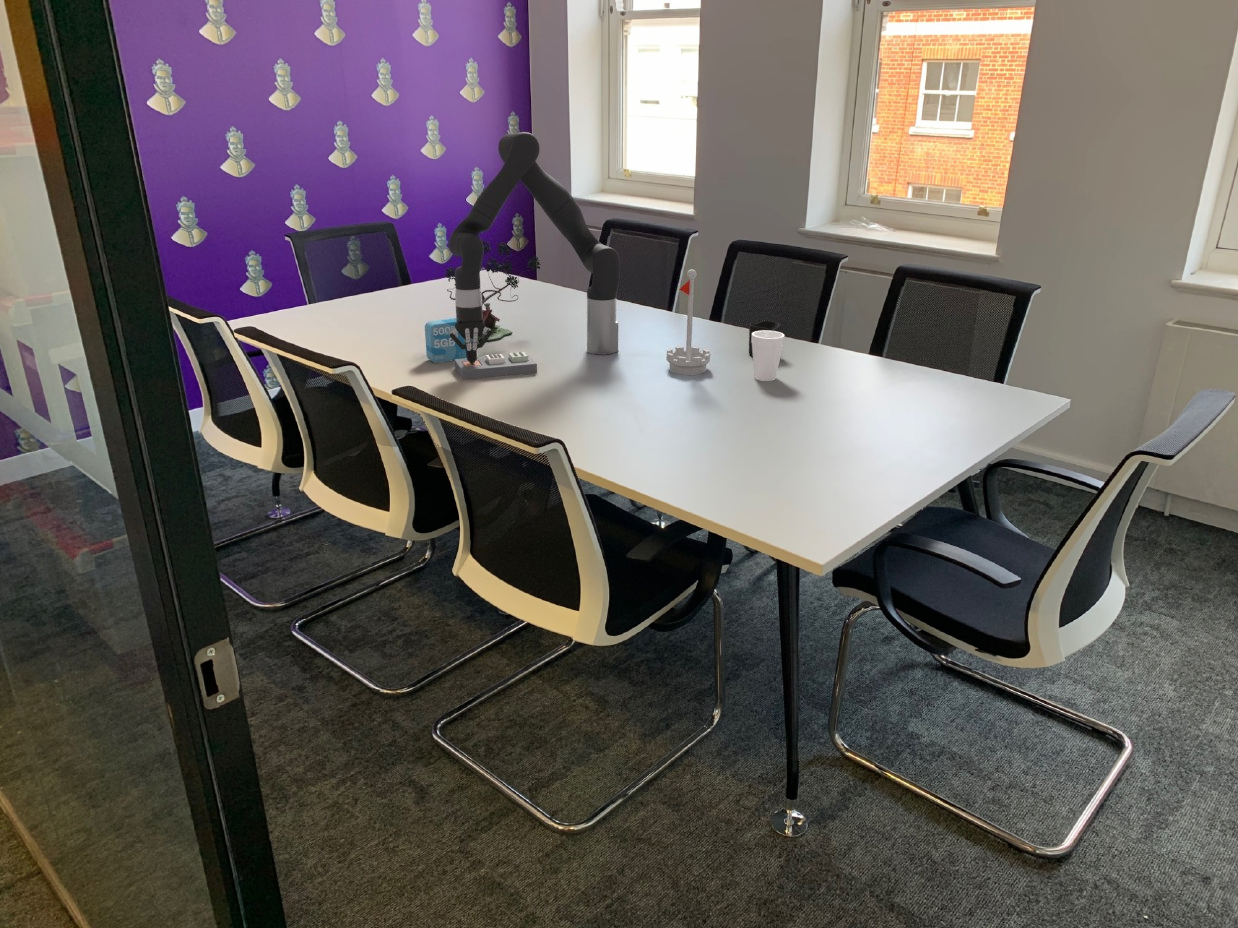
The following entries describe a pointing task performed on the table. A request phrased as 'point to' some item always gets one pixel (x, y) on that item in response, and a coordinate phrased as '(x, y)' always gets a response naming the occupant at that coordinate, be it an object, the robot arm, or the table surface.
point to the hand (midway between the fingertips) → (471, 362)
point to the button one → (471, 364)
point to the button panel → (494, 368)
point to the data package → (442, 341)
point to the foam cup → (766, 353)
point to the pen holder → (759, 327)
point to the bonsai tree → (487, 316)
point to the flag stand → (688, 341)
